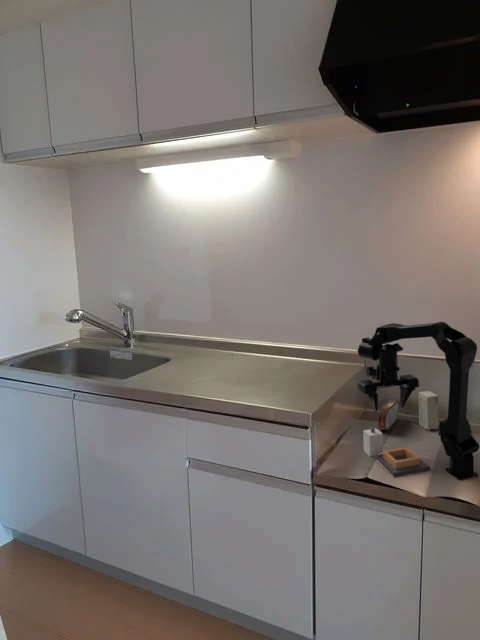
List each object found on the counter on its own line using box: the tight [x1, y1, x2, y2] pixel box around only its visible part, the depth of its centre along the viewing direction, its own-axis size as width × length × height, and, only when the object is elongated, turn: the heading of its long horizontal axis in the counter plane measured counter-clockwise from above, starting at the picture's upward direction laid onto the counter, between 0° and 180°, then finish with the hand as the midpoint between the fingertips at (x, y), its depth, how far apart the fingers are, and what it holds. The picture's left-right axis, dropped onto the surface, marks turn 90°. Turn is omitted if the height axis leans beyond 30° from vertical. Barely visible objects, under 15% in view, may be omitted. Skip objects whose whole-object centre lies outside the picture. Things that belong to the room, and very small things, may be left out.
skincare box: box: [418, 390, 440, 431], centre depth 182 cm, size 6×4×12 cm
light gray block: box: [362, 426, 384, 457], centre depth 166 cm, size 4×4×8 cm
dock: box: [372, 447, 431, 477], centre depth 158 cm, size 12×12×3 cm
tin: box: [377, 399, 399, 431], centre depth 185 cm, size 15×3×8 cm, turn 146°
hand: (388, 409), depth 169 cm, fingers open, 9 cm apart
